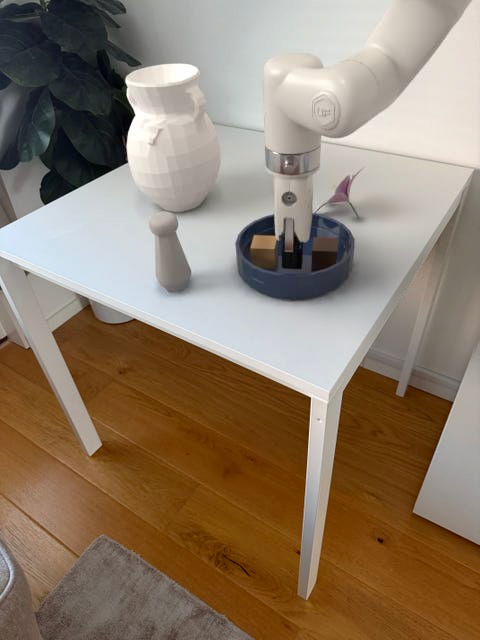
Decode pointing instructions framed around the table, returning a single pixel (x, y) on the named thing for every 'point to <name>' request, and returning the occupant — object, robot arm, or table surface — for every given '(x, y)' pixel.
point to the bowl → (302, 280)
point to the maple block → (264, 251)
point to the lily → (342, 192)
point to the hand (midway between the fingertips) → (292, 265)
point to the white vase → (171, 137)
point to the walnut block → (324, 253)
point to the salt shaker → (169, 253)
